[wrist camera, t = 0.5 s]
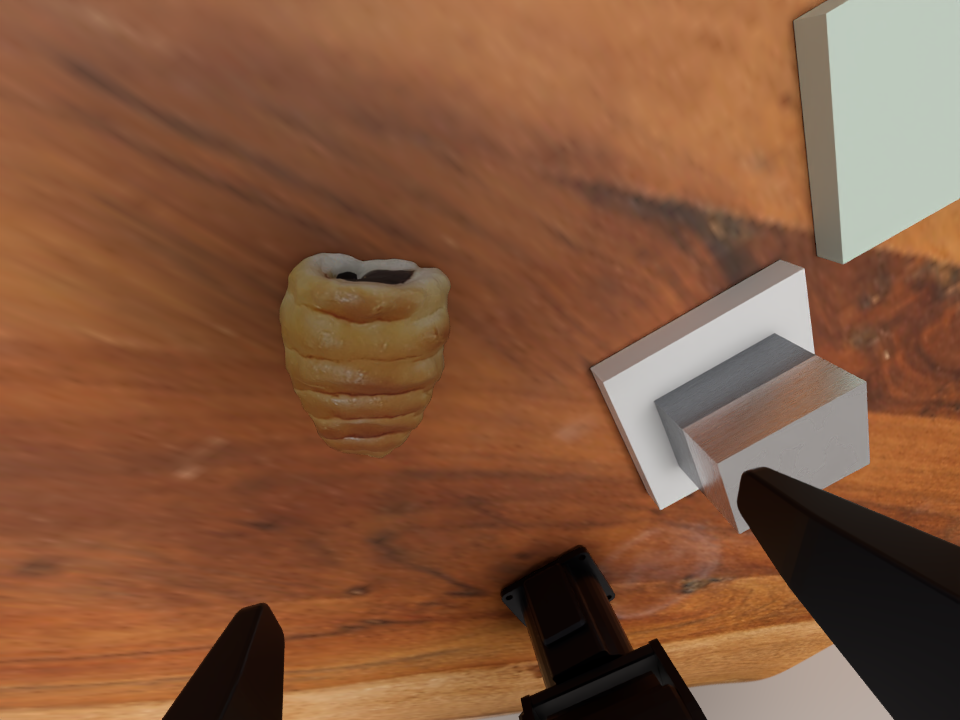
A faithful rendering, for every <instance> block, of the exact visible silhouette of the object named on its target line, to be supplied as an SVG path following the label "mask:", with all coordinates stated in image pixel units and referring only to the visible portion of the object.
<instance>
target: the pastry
mask: <svg viewBox="0 0 960 720" xmlns="http://www.w3.org/2000/svg"><path fill="white" fill-rule="evenodd" d="M450 287H451V285H450V281H449V279H448V277H447V276H446V275H445V274H444V273H443V272H442V271H441V270H440V269H438V268H420V267H419V266H417V264H416V263H414V262H412V261H407V260H400V259H388V260H379V259H377V260H368V261H360V260H358V259H355V258H354V257H352V256H349V255H345V254H340V253H337V254H332V253H320V254H316V255H313V256H311V257H308V258H306V259H304V260H302V261H301V262H300V263H299V264H298V265H297V266H296V267H294V269H293V270H292V272H291V273H290V275H289V277H288V288H287V291H286V294H285V296H284V299H283V301H282V303H281V306H280V310H279V316H280V319H279V321H280V324H281V329H282V331H281V333H282V338H283V342H284V347H285V365H286V370H287V371H288V373H289V374H290V377H291V380H292V384H293V388H294V391H295V393H296V394H297V395H298V396H299V398H300V399H301V403H302V406H303V409H304V410H305V411H306V412H307V413H308V414H309V416H310V417H311V418H312V419H313V421H314V424H315V426H316V428H317V432H318V434H319V436H320V437H321V438H322V439H323V440H324V441H325V442H326V444H327V445H328V446H329V447H331V448H333V449H335V450H337V451H340V452H343V453H349V454H364V455H369V456H371V457H376V458H383V457H384V456H386V455H387V454H389V453H390V452H391V451H392V450H393V449H394V448H396V447H399V446H401V445H402V444H403V443H404V442H405V441H406V439H407V438H408V436H409V434H410V432H411V431H412V430H413V429H415V428H416V427H417V426H418V425H419V423H420V422H421V421H422V418H423V412H424V409H425V408H426V406H427V405H428V403H429V402H430V400H431V397H432V392H433V387H434V385H435V383H436V382H437V381H438V380H439V379H440V377H441V374H442V371H443V369H444V356H443V350H444V344H445V343H446V342H447V340H448V338H449V334H450V321H449V315H448V310H447V298H448V293H449V290H450Z"/></svg>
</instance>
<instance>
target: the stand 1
mask: <svg viewBox="0 0 960 720" xmlns="http://www.w3.org/2000/svg"><path fill="white" fill-rule="evenodd" d="M774 333H775V334H777V335H779V336H781V337H783V338H785V339H787V340H789V341H790V342H792V343H794V344H796V345H798V346H800V347H802V348H804V349H805V350H807V351H809V352H811V353H813V354H815V353H814V345H813V337H812V328H811V320H810V312H809V303H808V295H807V286H806V278H805V270H804V268H802V267H799V266H797V265H794V264H791V263H788V262H785V261H782V260H779V261H777V262H775V263H773V264H772V265H770V266H768V267H766V268H765V269H763V270H761V271H759V272H758V273H756V274H754V275H752V276H751V277H749V278H747V279H745V280H744V281H742V282H740V283H738V284H737V285H735V286H733V287H731V288H730V289H728V290H726V291H724V292H723V293H721V294H719V295H717V296H716V297H714V298H712V299H710V300H709V301H707V302H705V303H703V304H702V305H700V306H698V307H696V308H695V309H693V310H691V311H689V312H688V313H686V314H684V315H682V316H681V317H679V318H677V319H675V320H674V321H672V322H670V323H668V324H667V325H665V326H663V327H661V328H660V329H658V330H656V331H654V332H653V333H651V334H649V335H647V336H646V337H644V338H642V339H640V340H639V341H637V342H635V343H633V344H632V345H630V346H628V347H626V348H625V349H623V350H621V351H619V352H618V353H616V354H614V355H612V356H611V357H609V358H607V359H605V360H604V361H602V362H600V363H598V364H597V365H595V366H593V367H591V368H590V369H591V371H592V373H593V375H594V378H595V380H596V382H597V384H598V386H599V388H600V391H601V393H602V395H603V397H604V399H605V401H606V404H607V406H608V408H609V410H610V412H611V414H612V417H613V419H614V421H615V423H616V425H617V427H618V430H619V432H620V434H621V436H622V438H623V440H624V443H625V445H626V447H627V449H628V451H629V454H630V456H631V458H632V460H633V462H634V464H635V467H636V469H637V471H638V473H639V475H640V477H641V480H642V482H643V484H644V486H645V488H646V490H647V493H648V494H649V495H650V497H651V498H652V499H653V501H654V502H655V503H656V505H657V506H658V507H659V509H660V510H662V509H663V508H665V507H667V506H669V505H671V504H673V503H674V502H676V501H678V500H680V499H682V498H683V497H685V496H687V495H689V494H691V493H693V492H694V491H696V490H698V489H699V488H698V487H697V486H696V485H695V484H694V483H693V482H692V480H691V479H690V478H689V477H688V476H687V475H686V474H685V473H684V471H683V470H682V469H681V468H680V467H679V465H678V463H677V460H676V458H675V455H674V452H673V450H672V447H671V445H670V442H669V439H668V437H667V434H666V432H665V429H664V426H663V424H662V421H661V418H660V416H659V413H658V411H657V408H656V405H655V403H654V401H655V400H656V399H658V398H660V397H662V396H664V395H665V394H667V393H669V392H671V391H672V390H674V389H676V388H678V387H679V386H681V385H683V384H685V383H687V382H688V381H690V380H692V379H694V378H695V377H697V376H699V375H701V374H703V373H704V372H706V371H708V370H710V369H711V368H713V367H715V366H717V365H719V364H720V363H722V362H724V361H726V360H727V359H729V358H731V357H733V356H735V355H736V354H738V353H740V352H742V351H743V350H745V349H747V348H749V347H751V346H752V345H754V344H756V343H758V342H759V341H761V340H763V339H765V338H767V337H768V336H770V335H772V334H774Z"/></svg>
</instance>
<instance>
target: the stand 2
mask: <svg viewBox="0 0 960 720" xmlns="http://www.w3.org/2000/svg"><path fill="white" fill-rule="evenodd" d="M793 22H794V31H795V41H796V51H797V61H798V71H799V81H800V91H801V101H802V111H803V121H804V131H805V140H806V150H807V160H808V170H809V180H810V190H811V200H812V210H813V220H814V230H815V239H816V249H817V256H818V257H821V258H825V259H828V260H831V261H834V262H837V263H841V264H845V263H846V262H848V261H850V260H852V259H853V258H855V257H857V256H859V255H861V254H862V253H864V252H866V251H868V250H869V249H871V248H873V247H875V246H876V245H878V244H880V243H882V242H883V241H885V240H887V239H889V238H891V237H892V236H894V235H896V234H898V233H899V232H901V231H903V230H905V229H906V228H908V227H910V226H912V225H913V224H915V223H917V222H919V221H921V220H922V219H924V218H926V217H928V216H929V215H931V214H933V213H935V212H936V211H938V210H940V209H942V208H944V207H945V206H947V205H949V204H951V203H952V202H954V201H956V200H958V199H959V198H960V0H827V1H825V2H824V3H822V4H820V5H819V6H817V7H815V8H814V9H812V10H810V11H809V12H807V13H805V14H804V15H802V16H800V17H799V18H797V19H795V20H794V21H793Z"/></svg>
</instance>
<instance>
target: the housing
mask: <svg viewBox="0 0 960 720" xmlns="http://www.w3.org/2000/svg"><path fill="white" fill-rule="evenodd" d="M654 403H655V405H656V408H657V411H658V413H659V416H660V418H661V421H662V424H663V426H664V429H665V432H666V434H667V437H668V439H669V442H670V445H671V447H672V450H673V452H674V455H675V458H676V460H677V463H678V465H679V467H680V468H681V469H682V470H683V471H684V473H685V474H686V475H687V476H688V477H689V478H690V479H691V480H692V482H693V483H694V484H695V485H696V486H697V487H698V488H699V489H700V491H701V492H702V493H703V494H704V495H705V496H706V497H707V498H708V499H709V501H710V502H711V503H712V504H713V505H714V506H715V507H716V508H717V510H718V511H719V512H720V513H721V514H722V515H723V516H724V517H725V518H726V520H727V521H728V522H729V523H730V524H731V525H732V526H733V527H734V529H735V530H736V531H737V532H738V533H739V534H740V533H742V532H744V531H746V530H748V529H750V528H749V526H748V525H747V523H746V522H745V520H744V519H743V517H742V516H741V514H740V512H739V510H738V507H737V496H738V490H739V485H740V479H741V475H742V473H743V472H744V471H746V470H750V469H753V468H757V467H768V468H771V469H773V470H775V471H778V472H780V473H783V474H785V475H788V476H790V477H792V478H795V479H797V480H800V481H802V482H805V483H807V484H809V485H812V486H814V487H817V488H819V489H823V488H825V487H827V486H829V485H831V484H833V483H835V482H836V481H838V480H840V479H842V478H844V477H846V476H847V475H849V474H851V473H853V472H855V471H857V470H859V469H860V468H862V467H864V466H866V465H868V464H870V456H869V433H868V411H867V389H866V381H864V380H862V379H860V378H858V377H856V376H854V375H852V374H851V373H849V372H847V371H845V370H843V369H841V368H839V367H837V366H835V365H834V364H832V363H830V362H828V361H826V360H824V359H822V358H820V357H819V356H817V355H815V354H813V353H811V352H809V351H807V350H805V349H804V348H802V347H800V346H798V345H796V344H794V343H792V342H790V341H789V340H787V339H785V338H783V337H781V336H779V335H777V334H775V333H774V334H772V335H770V336H768V337H767V338H765V339H763V340H761V341H759V342H758V343H756V344H754V345H752V346H751V347H749V348H747V349H745V350H743V351H742V352H740V353H738V354H736V355H735V356H733V357H731V358H729V359H727V360H726V361H724V362H722V363H720V364H719V365H717V366H715V367H713V368H711V369H710V370H708V371H706V372H704V373H703V374H701V375H699V376H697V377H695V378H694V379H692V380H690V381H688V382H687V383H685V384H683V385H681V386H679V387H678V388H676V389H674V390H672V391H671V392H669V393H667V394H665V395H664V396H662V397H660V398H658V399H656V400H655V401H654Z"/></svg>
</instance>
